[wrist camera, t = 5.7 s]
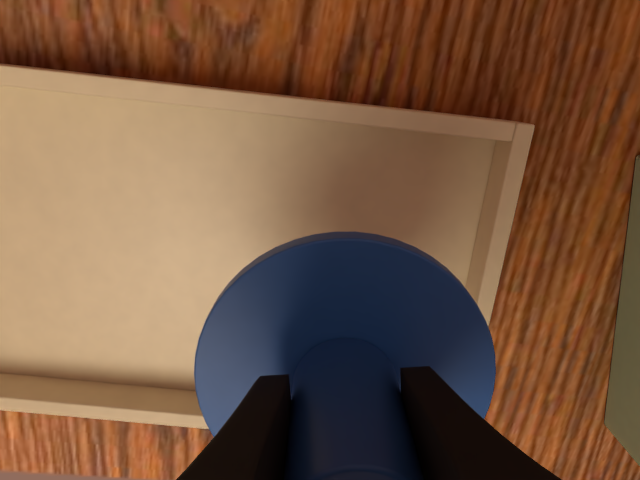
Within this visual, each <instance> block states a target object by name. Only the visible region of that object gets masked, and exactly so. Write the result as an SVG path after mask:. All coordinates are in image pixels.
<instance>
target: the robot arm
mask: <svg viewBox="0 0 640 480" xmlns="http://www.w3.org/2000/svg"><path fill="white" fill-rule="evenodd" d="M400 377H401V396H402V399H403V403H404V407H405V411H406V415H407V418H408V422H409V426H410V429H411V433H412V436H413V440H414V444H415V448H416V452H417V455H418V459H419V463H420V467H421V470H422V474H423V478H424V480H561V479H560V478H558V477H557V476H555V475H554V474H553V473H551V472H550V471H548V470H547V469H545V468H544V467H542V466H541V465H540V464H538V463H537V462H535V461H534V460H533V459H531V458H530V457H529V456H527V455H526V454H525V453H524V452H522V451H521V450H520V449H519V448H517V447H516V446H515V445H514V444H512V443H511V442H510V441H509V440H507V439H506V438H505V437H504V436H502V435H501V434H500V433H499V432H498V431H497V430H495V429H494V428H493V427H492V426H491V425H490V424H489V423H488V422H487V421H485V420H484V419H483V418H482V417H481V416H480V415H479V414H478V413H477V412H476V411H474V410H473V409H472V408H471V407H470V406H469V405H468V404H467V403H466V402H465V401H464V400H463V399H462V398H461V397H460V396H459V395H458V394H457V393H456V392H455V391H454V390H453V389H452V388H451V387H450V386H449V385H448V384H447V383H446V382H445V381H444V380H443V379H442V378H441V377H440V376H439V375H438V374H437V373H436V372H435V371H434V370H433V369H432V368H431V367H430V366H421V367H403V368H400ZM290 410H291V392H290V382H289V374H283V375H266V376H260V377H259V378H258V379H257V380H256V381H255V383H254V384H253V385H252V387H251V388H250V390H249V391H248V393H247V394H246V396H245V397H244V398H243V400H242V401H241V403H240V404H239V405H238V407H237V408H236V409H235V411H234V412H233V414H232V415H231V416H230V418H229V419H228V420H227V421H226V423H225V424H224V425H223V426H222V428H221V429H220V430H219V432H218V433H217V434H216V435H215V437H214V438H213V439H212V440H211V442H210V443H209V444H208V445H207V446H206V447H205V448H204V450H203V451H202V452H201V453H200V454H199V455H198V456H197V458H196V459H195V460H194V461H193V462H192V463H191V464H190V465H189V467H188V468H187V469H186V470H185V471H184V472H183V473H182V474H181V475H180V476H179V477H178V478H177V479H176V480H284V471H285V460H286V450H287V441H288V431H289V421H290Z"/></svg>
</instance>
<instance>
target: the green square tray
mask: <svg viewBox="0 0 640 480" xmlns="http://www.w3.org/2000/svg"><path fill="white" fill-rule="evenodd" d="M604 424H605V426H606V427H607V428H608V429H609V430H610V431H611V433H612V434H613V435H614V436H615V437H616V439H617V440H618V441H619V442H620V443H621V445H622V446H623V447H624V448H625V449H626V450H627V452H628V453H629V454H630V455H631V456H632V458H633V459H634V460H635V461H636V462H637V463H638V465H639V466H640V155H638V156H636V162H635V170H634V178H633V187H632V195H631V203H630V212H629V220H628V228H627V237H626V245H625V253H624V262H623V270H622V278H621V286H620V295H619V303H618V311H617V320H616V328H615V336H614V345H613V353H612V361H611V370H610V378H609V386H608V395H607V403H606V411H605V420H604Z"/></svg>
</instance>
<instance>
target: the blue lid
mask: <svg viewBox="0 0 640 480" xmlns="http://www.w3.org/2000/svg"><path fill="white" fill-rule="evenodd" d="M421 366H430V367H431V368H432V369H433V370H434V371H435V372H436V373H437V374H438V375H439V376H440V377H441V378H442V379H443V380H444V381H445V382H446V383H447V384H448V385H449V386H450V387H451V388H452V389H453V390H454V391H455V392H456V393H457V394H458V395H459V396H460V397H461V398H462V399H463V400H464V401H465V402H466V403H467V404H468V405H469V406H470V407H471V408H472V409H473V410H474V411H476V412H477V413H478V414H479V415H480V416H481V417H482V418H483V419H484V418H485V415H486V413H487V411H488V409H489V406H490V402H491V398H492V394H493V391H494V382H495V374H496V367H495V352H494V347H493V341H492V337H491V334H490V331H489V328H488V325H487V322H486V320H485V318H484V316H483V314H482V312H481V311H480V309H479V307H478V305H477V303H476V302H475V301H474V299H473V298H472V297H471V295H470V294H469V292H468V291H467V290H466V288H465V287H464V286H463V284H462V283H461V282H460V280H459V279H458V278H457V277H456V276H455V275H454V274H453V273H452V272H451V271H450V270H449V269H448V268H447V267H445V266H444V265H443V264H441V263H440V262H439V261H437V260H436V259H435V258H433V257H432V256H430V255H429V254H427V253H425V252H423V251H422V250H420V249H418V248H416V247H414V246H412V245H409V244H407V243H405V242H402V241H400V240H397V239H394V238H390V237H386V236H382V235H378V234H372V233H364V232H356V231H354V232H328V233H320V234H313V235H310V236H306V237H302V238H298V239H294V240H292V241H289V242H287V243H284V244H282V245H279V246H277V247H275V248H273V249H271V250H270V251H268V252H266V253H264V254H262V255H261V256H259V257H258V258H256V259H255V260H253V261H252V262H251V263H249V264H248V265H247V266H245V267H244V268H243V269H242V270H241V271H240V272H239V273H238V274H237V275H236V276H235V277H234V278H233V279H232V280H231V281H230V282H229V283H228V284H227V286H226V287H225V288H224V290H223V291H222V292H221V294H220V295H219V296H218V298H217V300H216V302H215V303H214V305H213V307H212V309H211V311H210V312H209V314H208V317H207V319H206V321H205V323H204V326H203V328H202V331H201V334H200V336H199V339H198V344H197V349H196V353H195V364H194V379H195V390H196V394H197V399H198V403H199V407H200V409H201V412H202V414H203V417H204V419H205V422H206V424H207V426H208V428H209V429H210V431H211V433H212V435H213V436H214V437H215V435H216V434H217V433H218V432H219V430H220V429H221V428H222V426H223V425H224V424H225V423H226V421H227V420H228V419H229V418H230V416H231V415H232V414H233V412H234V411H235V409H236V408H237V407H238V405H239V404H240V403H241V401H242V400H243V398H244V397H245V396H246V394H247V393H248V391H249V390H250V388H251V387H252V385H253V384H254V383H255V381H256V380H257V379H258V378H259V377H260V376H266V375H283V374H289V382H290V392H291V410H290V421H289V431H288V441H287V450H286V460H285V471H284V480H424V478H423V474H422V470H421V467H420V463H419V459H418V455H417V452H416V448H415V444H414V440H413V436H412V433H411V429H410V426H409V422H408V418H407V415H406V411H405V407H404V403H403V399H402V396H401V377H400V368H403V367H421Z"/></svg>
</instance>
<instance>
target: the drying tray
mask: <svg viewBox="0 0 640 480" xmlns="http://www.w3.org/2000/svg"><path fill="white" fill-rule="evenodd" d="M534 127H535V126H534V125H533V124H528V123H523V122H517V121H511V120H502V119H493V118H484V117H476V116H467V115H458V114H449V113H440V112H431V111H422V110H413V109H404V108H395V107H386V106H377V105H368V104H359V103H351V102H342V101H333V100H324V99H315V98H306V97H297V96H288V95H279V94H270V93H261V92H252V91H243V90H234V89H226V88H217V87H208V86H199V85H190V84H181V83H172V82H163V81H154V80H145V79H136V78H127V77H118V76H109V75H101V74H92V73H83V72H74V71H65V70H56V69H47V68H38V67H29V66H20V65H11V64H2V63H0V410H5V411H16V412H27V413H38V414H49V415H60V416H71V417H82V418H93V419H104V420H115V421H126V422H136V423H147V424H158V425H169V426H180V427H191V428H202V429H209V428H208V426H207V424H206V422H205V419H204V417H203V414H202V412H201V409H200V407H199V403H198V399H197V394H196V390H195V379H194V364H195V353H196V349H197V344H198V339H199V336H200V334H201V331H202V328H203V326H204V323H205V321H206V319H207V317H208V314H209V312H210V311H211V309H212V307H213V305H214V303H215V302H216V300H217V298H218V296H219V295H220V294H221V292H222V291H223V290H224V288H225V287H226V286H227V284H228V283H229V282H230V281H231V280H232V279H233V278H234V277H235V276H236V275H237V274H238V273H239V272H240V271H241V270H242V269H243V268H244V267H245V266H247V265H248V264H249V263H251V262H252V261H253V260H255V259H256V258H258V257H259V256H261V255H262V254H264V253H266V252H268V251H270V250H271V249H273V248H275V247H277V246H279V245H282V244H284V243H287V242H289V241H292V240H294V239H298V238H302V237H306V236H310V235H313V234H320V233H328V232H354V231H356V232H364V233H372V234H378V235H382V236H386V237H390V238H394V239H397V240H400V241H402V242H405V243H407V244H409V245H412V246H414V247H416V248H418V249H420V250H422V251H423V252H425V253H427V254H429V255H430V256H432V257H433V258H435V259H436V260H437V261H439V262H440V263H441V264H443V265H444V266H445V267H447V268H448V269H449V270H450V271H451V272H452V273H453V274H454V275H455V276H456V277H457V278H458V279H459V280H460V282H461V283H462V284H463V286H464V287H465V288H466V290H467V291H468V292H469V294H470V295H471V297H472V298H473V299H474V301H475V302H476V303H477V305H478V307H479V309H480V311H481V312H482V314H483V316H484V318H485V320H486V322H487V325H488V327H489V323H490V318H491V314H492V310H493V305H494V301H495V297H496V292H497V288H498V284H499V279H500V275H501V271H502V266H503V262H504V258H505V253H506V249H507V244H508V240H509V236H510V231H511V227H512V223H513V218H514V214H515V210H516V205H517V201H518V197H519V192H520V188H521V184H522V179H523V175H524V171H525V166H526V162H527V158H528V153H529V149H530V145H531V140H532V136H533V132H534Z"/></svg>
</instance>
